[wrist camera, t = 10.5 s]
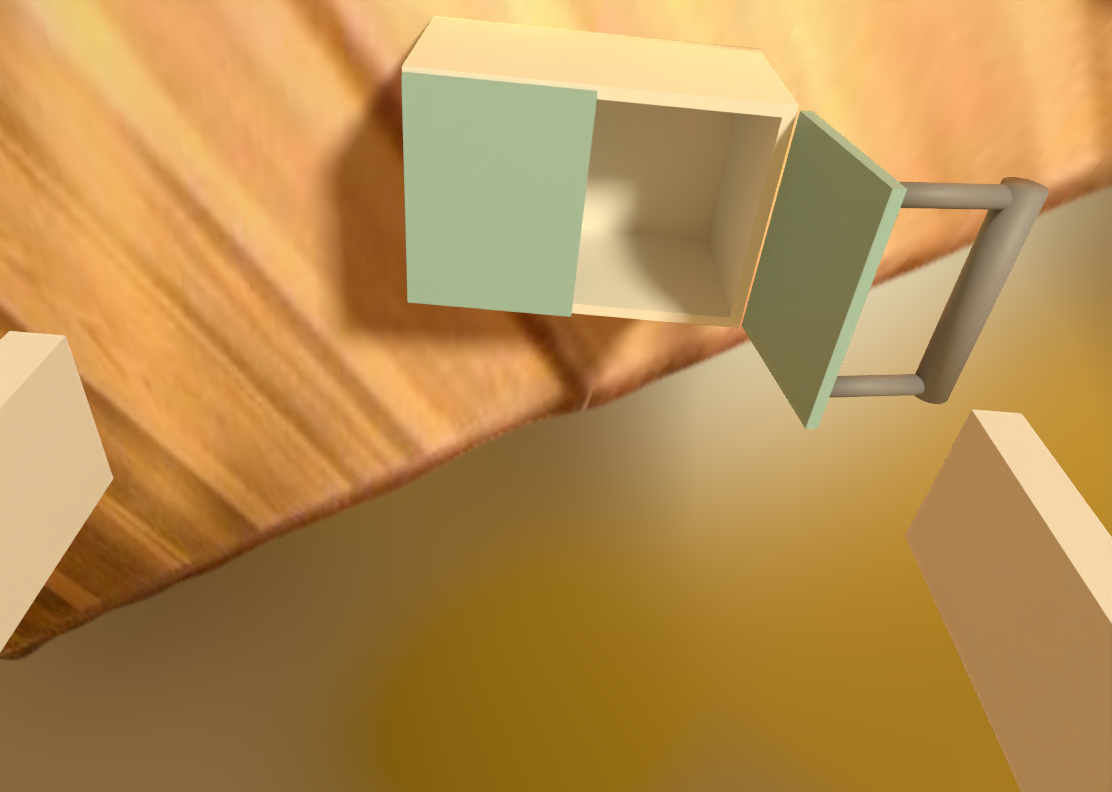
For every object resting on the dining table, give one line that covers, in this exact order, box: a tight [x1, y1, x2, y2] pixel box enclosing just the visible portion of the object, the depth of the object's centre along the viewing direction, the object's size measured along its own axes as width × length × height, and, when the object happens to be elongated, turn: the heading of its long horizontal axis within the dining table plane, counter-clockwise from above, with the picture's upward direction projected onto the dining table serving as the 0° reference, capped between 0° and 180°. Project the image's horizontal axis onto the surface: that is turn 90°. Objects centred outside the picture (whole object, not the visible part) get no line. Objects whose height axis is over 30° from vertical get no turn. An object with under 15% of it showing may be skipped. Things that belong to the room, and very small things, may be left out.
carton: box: [402, 16, 799, 328], centre depth 44 cm, size 18×12×10 cm, turn 85°
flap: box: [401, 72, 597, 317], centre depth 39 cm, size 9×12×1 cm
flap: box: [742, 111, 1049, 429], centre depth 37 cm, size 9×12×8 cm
